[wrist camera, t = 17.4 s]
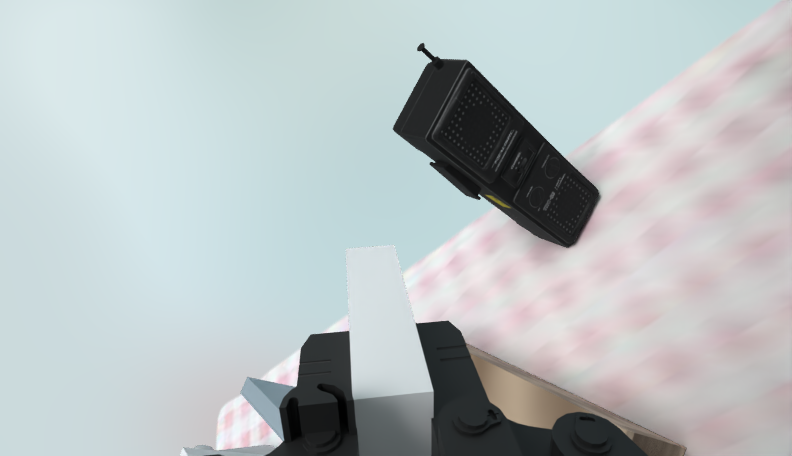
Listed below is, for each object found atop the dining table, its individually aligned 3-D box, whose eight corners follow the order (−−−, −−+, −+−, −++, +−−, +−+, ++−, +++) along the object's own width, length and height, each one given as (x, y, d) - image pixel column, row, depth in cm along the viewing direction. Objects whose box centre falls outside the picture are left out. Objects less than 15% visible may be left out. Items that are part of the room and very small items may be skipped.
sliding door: (311, 420, 65) (89, 386, 48) (329, 378, 66) (117, 329, 48) (439, 543, 46) (147, 562, 29) (462, 482, 47) (192, 464, 29)
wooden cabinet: (409, 458, 53) (325, 449, 45) (457, 338, 55) (384, 310, 47) (624, 635, 35) (543, 670, 27) (686, 447, 36) (627, 430, 29)
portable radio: (569, 259, 49) (406, 137, 33) (523, 241, 54) (361, 127, 38) (605, 191, 49) (460, 37, 33) (556, 179, 54) (409, 39, 38)
